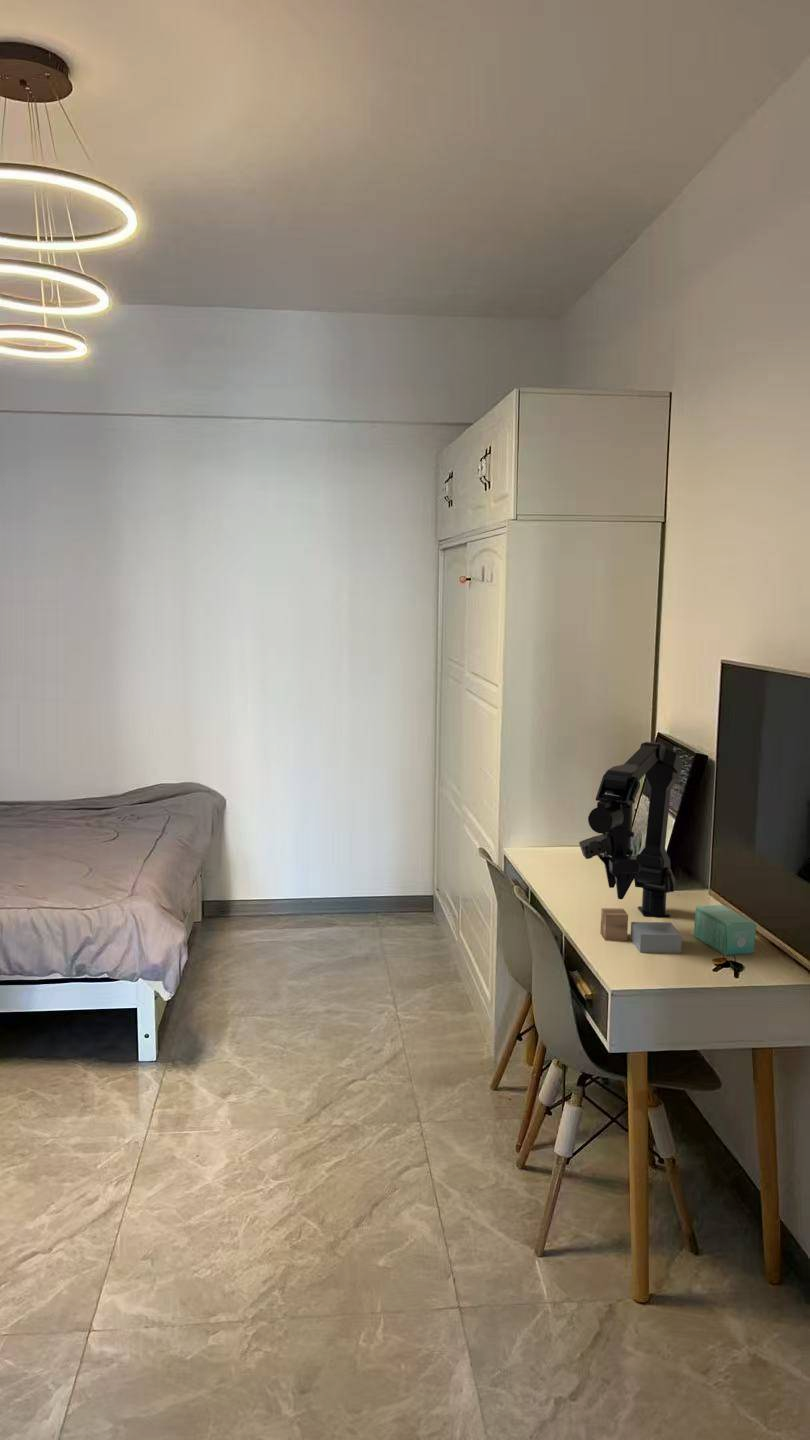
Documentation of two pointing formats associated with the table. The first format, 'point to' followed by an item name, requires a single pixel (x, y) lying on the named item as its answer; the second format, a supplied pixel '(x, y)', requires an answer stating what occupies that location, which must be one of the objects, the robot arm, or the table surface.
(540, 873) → the table surface
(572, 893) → the table surface
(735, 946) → the box
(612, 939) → the block
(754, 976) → the table surface
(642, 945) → the base
